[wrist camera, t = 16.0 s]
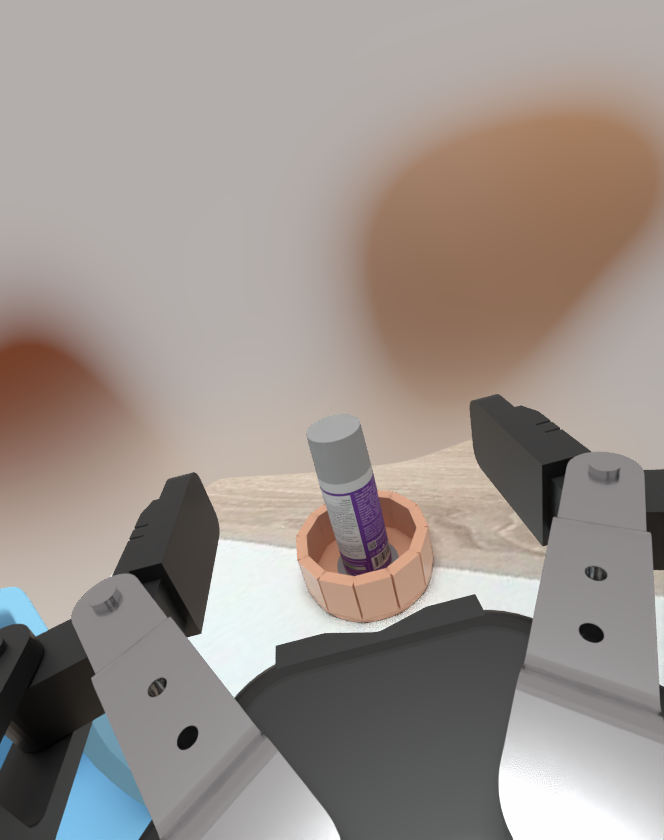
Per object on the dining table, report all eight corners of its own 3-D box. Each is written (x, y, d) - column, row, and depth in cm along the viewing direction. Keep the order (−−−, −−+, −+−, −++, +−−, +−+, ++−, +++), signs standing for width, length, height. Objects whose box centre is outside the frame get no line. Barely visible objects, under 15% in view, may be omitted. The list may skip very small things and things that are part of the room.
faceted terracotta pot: (411, 512, 47) (405, 479, 45) (451, 601, 36) (445, 562, 34) (305, 540, 47) (294, 507, 45) (313, 637, 36) (299, 600, 34)
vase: (118, 1096, 19) (-278, 952, 10) (61, 926, 24) (-231, 732, 15) (254, 889, 23) (72, 665, 14) (182, 786, 29) (15, 575, 20)
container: (383, 538, 43) (353, 407, 37) (399, 571, 39) (368, 431, 32) (339, 553, 43) (300, 424, 36) (351, 588, 39) (309, 449, 32)
